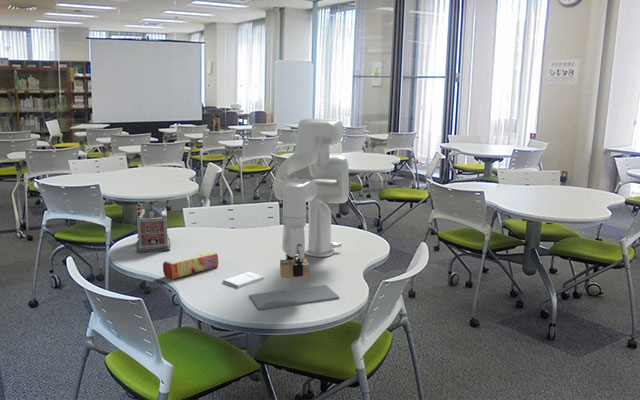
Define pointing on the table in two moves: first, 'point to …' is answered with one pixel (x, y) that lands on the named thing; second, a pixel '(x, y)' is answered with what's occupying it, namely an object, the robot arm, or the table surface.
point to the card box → (287, 269)
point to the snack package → (190, 264)
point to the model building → (152, 230)
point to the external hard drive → (243, 279)
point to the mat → (293, 297)
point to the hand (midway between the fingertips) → (294, 272)
